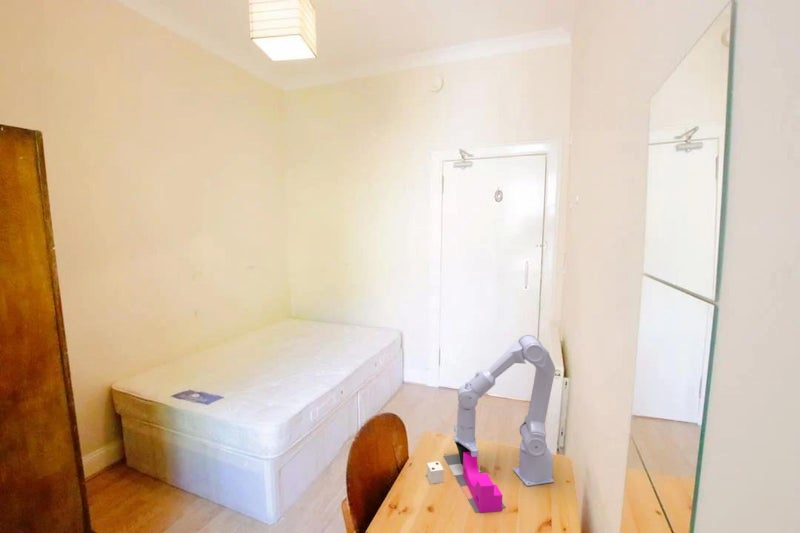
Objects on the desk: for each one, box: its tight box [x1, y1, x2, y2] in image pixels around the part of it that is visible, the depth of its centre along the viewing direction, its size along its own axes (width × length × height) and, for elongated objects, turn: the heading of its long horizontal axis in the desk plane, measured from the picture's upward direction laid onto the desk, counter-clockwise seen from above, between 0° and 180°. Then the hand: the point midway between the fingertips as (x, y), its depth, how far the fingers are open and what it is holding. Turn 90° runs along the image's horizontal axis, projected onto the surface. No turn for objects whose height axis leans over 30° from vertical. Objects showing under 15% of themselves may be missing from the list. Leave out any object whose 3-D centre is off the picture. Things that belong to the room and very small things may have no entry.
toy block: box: [463, 452, 503, 514], centre depth 100 cm, size 15×6×8 cm, turn 8°
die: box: [426, 461, 445, 485], centre depth 106 cm, size 4×4×4 cm
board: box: [443, 453, 506, 514], centre depth 106 cm, size 9×25×1 cm, turn 13°
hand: (464, 464), depth 111 cm, fingers closed
